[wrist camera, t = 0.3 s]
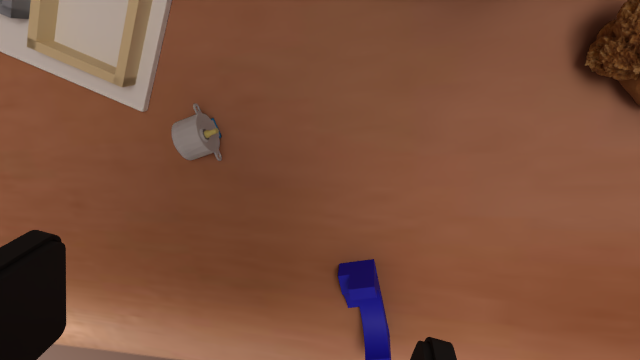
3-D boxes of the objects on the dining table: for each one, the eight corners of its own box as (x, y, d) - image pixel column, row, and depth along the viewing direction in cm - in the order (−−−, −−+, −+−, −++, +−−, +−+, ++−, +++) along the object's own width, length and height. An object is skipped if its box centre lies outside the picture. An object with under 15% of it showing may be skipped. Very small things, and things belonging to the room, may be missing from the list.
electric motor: (241, 149, 46) (226, 162, 41) (206, 161, 47) (188, 175, 42) (217, 94, 44) (199, 101, 39) (181, 108, 45) (160, 116, 40)
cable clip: (339, 262, 50) (335, 291, 45) (373, 258, 49) (374, 286, 44) (357, 335, 54) (355, 370, 48) (389, 332, 53) (391, 367, 47)
